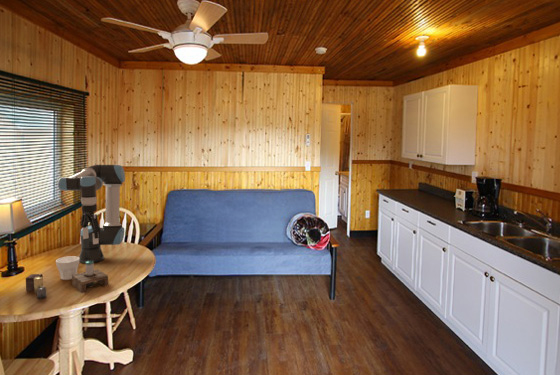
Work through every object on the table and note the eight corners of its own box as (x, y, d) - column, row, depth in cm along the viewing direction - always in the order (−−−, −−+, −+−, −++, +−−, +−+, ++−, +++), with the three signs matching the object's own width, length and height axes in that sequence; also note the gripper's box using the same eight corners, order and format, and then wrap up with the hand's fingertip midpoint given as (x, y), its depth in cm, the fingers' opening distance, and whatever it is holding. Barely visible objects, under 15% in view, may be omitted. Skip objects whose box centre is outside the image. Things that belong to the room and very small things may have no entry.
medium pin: (33, 292, 204) (32, 278, 203) (42, 290, 207) (41, 276, 206) (36, 294, 201) (35, 280, 200) (44, 292, 204) (43, 278, 203)
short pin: (36, 297, 198) (35, 288, 197) (44, 295, 201) (44, 286, 200) (38, 299, 195) (38, 290, 194) (47, 297, 198) (46, 288, 197)
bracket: (72, 285, 214) (71, 275, 214) (97, 278, 225) (97, 269, 224) (82, 292, 205) (81, 282, 204) (108, 285, 216) (107, 275, 215)
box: (32, 286, 211) (31, 273, 210) (43, 286, 212) (42, 273, 211) (25, 291, 205) (25, 278, 204) (37, 291, 206) (36, 278, 205)
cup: (63, 282, 217) (62, 264, 216) (52, 278, 224) (51, 260, 222) (84, 276, 228) (84, 258, 226) (73, 271, 234) (72, 254, 233)
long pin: (85, 285, 215) (84, 261, 213) (92, 283, 218) (91, 259, 216) (88, 287, 212) (87, 263, 210) (95, 285, 215) (94, 261, 213)
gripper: (73, 201, 216) (75, 237, 220) (91, 208, 200) (93, 247, 203) (86, 200, 222) (88, 235, 225) (105, 206, 205) (107, 244, 209)
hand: (90, 241), depth 214 cm, fingers open, 13 cm apart
